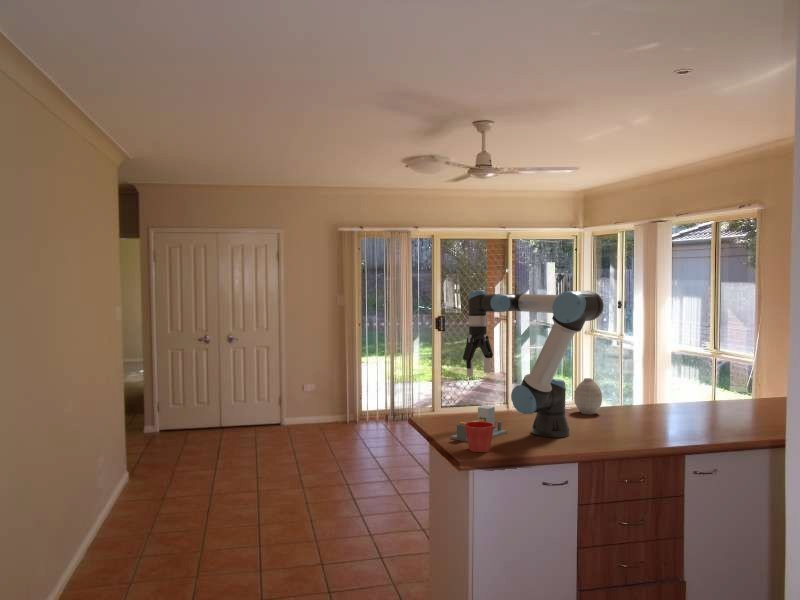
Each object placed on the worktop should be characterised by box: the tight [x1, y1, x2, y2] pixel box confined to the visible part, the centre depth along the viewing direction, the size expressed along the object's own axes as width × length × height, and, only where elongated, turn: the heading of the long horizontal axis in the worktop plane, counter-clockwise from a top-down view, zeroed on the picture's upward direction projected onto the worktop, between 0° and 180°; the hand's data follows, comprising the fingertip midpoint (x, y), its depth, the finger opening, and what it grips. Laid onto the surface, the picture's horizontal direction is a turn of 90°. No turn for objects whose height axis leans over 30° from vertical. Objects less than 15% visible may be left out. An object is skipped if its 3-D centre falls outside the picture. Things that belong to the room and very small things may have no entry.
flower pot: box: [465, 421, 494, 453], centre depth 238 cm, size 11×11×10 cm
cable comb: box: [450, 418, 508, 443], centre depth 260 cm, size 12×23×7 cm, turn 139°
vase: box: [573, 377, 603, 416], centre depth 305 cm, size 13×13×17 cm
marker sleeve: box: [477, 405, 496, 428], centre depth 265 cm, size 5×5×8 cm
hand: (478, 374), depth 275 cm, fingers open, 13 cm apart
